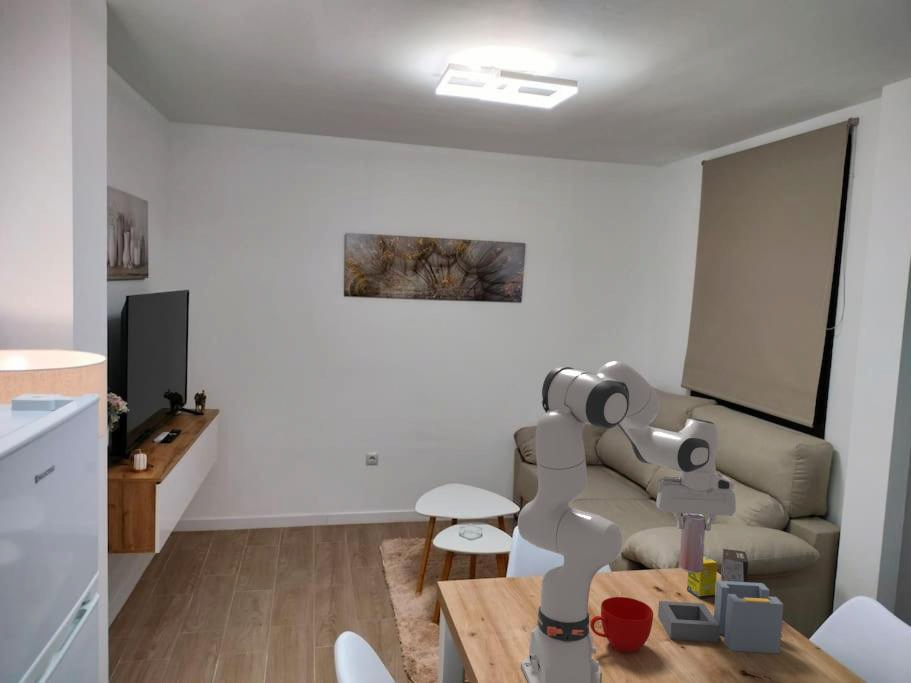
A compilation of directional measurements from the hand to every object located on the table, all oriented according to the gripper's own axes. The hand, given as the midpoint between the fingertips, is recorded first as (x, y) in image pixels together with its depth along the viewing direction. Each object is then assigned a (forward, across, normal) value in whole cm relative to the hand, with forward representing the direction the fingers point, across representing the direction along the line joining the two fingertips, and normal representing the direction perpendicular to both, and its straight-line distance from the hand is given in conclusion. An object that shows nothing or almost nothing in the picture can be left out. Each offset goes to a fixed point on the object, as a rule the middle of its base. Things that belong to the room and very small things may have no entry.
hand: (693, 529), depth 179 cm
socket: (+28, +14, -4) cm, 31 cm away
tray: (+28, 0, 0) cm, 28 cm away
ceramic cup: (+28, -21, -12) cm, 37 cm away
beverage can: (+11, 0, 0) cm, 11 cm away
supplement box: (+28, +11, +23) cm, 38 cm away
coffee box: (+28, +17, +14) cm, 36 cm away
